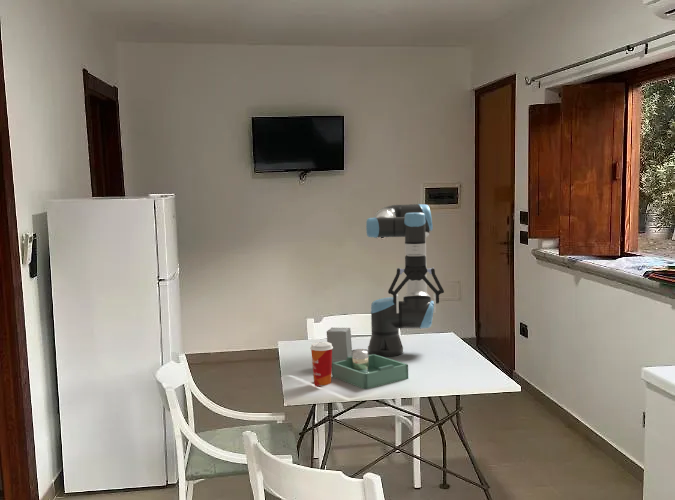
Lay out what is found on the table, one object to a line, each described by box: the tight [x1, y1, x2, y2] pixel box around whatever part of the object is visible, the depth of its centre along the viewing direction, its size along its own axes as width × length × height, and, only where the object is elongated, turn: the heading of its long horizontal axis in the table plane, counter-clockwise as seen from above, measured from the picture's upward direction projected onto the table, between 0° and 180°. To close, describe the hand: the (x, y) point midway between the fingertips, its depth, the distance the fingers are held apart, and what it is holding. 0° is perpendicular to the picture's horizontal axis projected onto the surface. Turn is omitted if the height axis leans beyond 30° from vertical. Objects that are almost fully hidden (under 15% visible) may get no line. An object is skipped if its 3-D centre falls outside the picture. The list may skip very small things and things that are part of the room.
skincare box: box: [326, 327, 353, 363], centre depth 257 cm, size 8×7×16 cm
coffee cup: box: [309, 341, 333, 388], centre depth 236 cm, size 8×8×15 cm
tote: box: [331, 354, 409, 390], centre depth 241 cm, size 20×20×7 cm
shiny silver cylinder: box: [352, 348, 369, 373], centre depth 245 cm, size 6×6×9 cm
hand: (416, 312), depth 241 cm, fingers open, 13 cm apart
